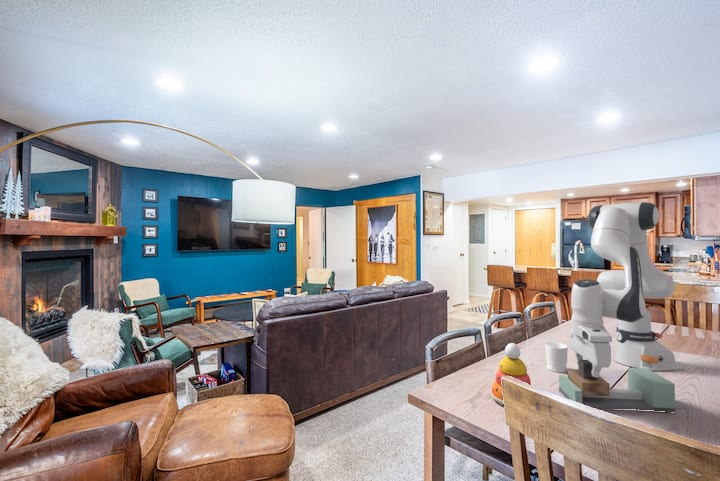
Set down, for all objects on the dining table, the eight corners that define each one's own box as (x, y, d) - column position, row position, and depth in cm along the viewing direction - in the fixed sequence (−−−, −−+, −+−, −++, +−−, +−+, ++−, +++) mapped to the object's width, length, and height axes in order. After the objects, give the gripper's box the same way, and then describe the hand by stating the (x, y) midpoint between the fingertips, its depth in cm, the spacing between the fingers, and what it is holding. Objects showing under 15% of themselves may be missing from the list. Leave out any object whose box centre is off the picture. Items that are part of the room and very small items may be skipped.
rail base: (647, 394, 114) (647, 368, 114) (675, 413, 103) (674, 384, 102) (559, 390, 119) (558, 365, 119) (575, 407, 107) (574, 379, 107)
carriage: (593, 382, 116) (592, 356, 116) (609, 396, 106) (609, 368, 106) (568, 381, 117) (567, 356, 117) (582, 394, 108) (581, 367, 107)
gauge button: (652, 364, 111) (652, 354, 111) (662, 369, 106) (662, 359, 106) (637, 364, 111) (637, 354, 111) (646, 369, 107) (646, 359, 107)
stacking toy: (488, 388, 122) (487, 335, 121) (532, 393, 118) (531, 337, 117) (492, 408, 108) (491, 347, 108) (541, 414, 104) (540, 351, 104)
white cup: (560, 374, 132) (559, 349, 132) (541, 368, 139) (541, 344, 139) (572, 370, 136) (571, 346, 136) (553, 364, 143) (552, 341, 143)
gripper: (562, 321, 122) (563, 359, 122) (592, 337, 102) (593, 383, 102) (581, 321, 121) (582, 359, 121) (615, 338, 101) (616, 384, 101)
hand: (587, 370), depth 112 cm, fingers open, 8 cm apart
